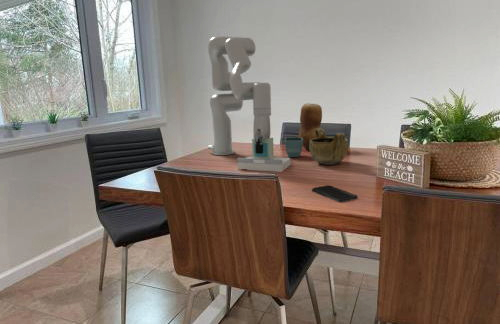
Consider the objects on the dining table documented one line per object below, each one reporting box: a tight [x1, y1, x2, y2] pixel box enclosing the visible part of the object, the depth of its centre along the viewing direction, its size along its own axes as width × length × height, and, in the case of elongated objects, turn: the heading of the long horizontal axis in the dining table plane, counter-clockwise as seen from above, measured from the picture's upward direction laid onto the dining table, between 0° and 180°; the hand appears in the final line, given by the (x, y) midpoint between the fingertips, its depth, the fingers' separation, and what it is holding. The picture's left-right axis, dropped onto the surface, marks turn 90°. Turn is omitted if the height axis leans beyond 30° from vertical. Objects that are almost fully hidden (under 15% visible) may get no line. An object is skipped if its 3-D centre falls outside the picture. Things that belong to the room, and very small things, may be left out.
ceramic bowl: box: [309, 128, 349, 166], centre depth 162 cm, size 22×17×15 cm
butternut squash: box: [297, 102, 323, 151], centre depth 196 cm, size 14×13×25 cm
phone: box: [311, 185, 358, 203], centre depth 119 cm, size 8×1×15 cm
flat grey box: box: [237, 155, 291, 173], centre depth 160 cm, size 20×14×5 cm
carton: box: [251, 137, 275, 159], centre depth 158 cm, size 5×8×10 cm, turn 69°
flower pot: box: [284, 137, 303, 158], centre depth 180 cm, size 9×9×9 cm
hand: (263, 151), depth 158 cm, fingers open, 9 cm apart
